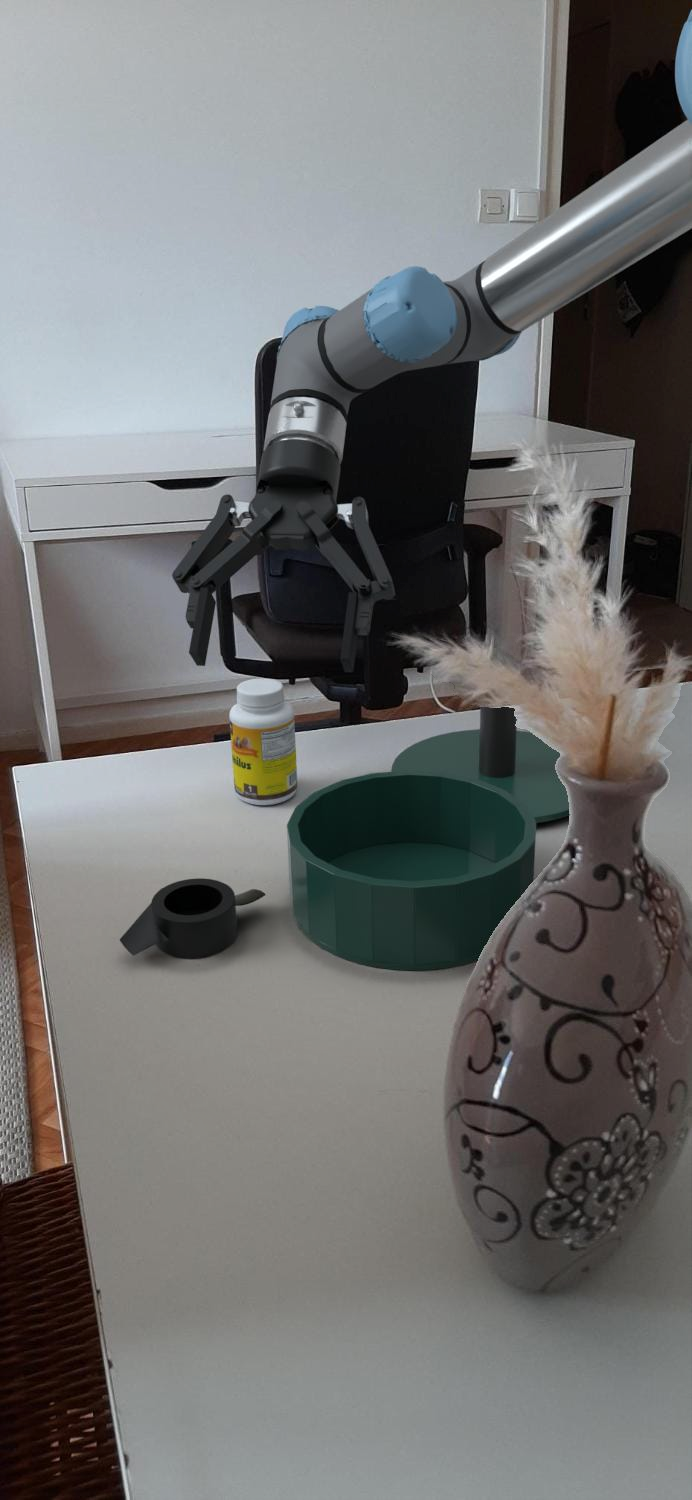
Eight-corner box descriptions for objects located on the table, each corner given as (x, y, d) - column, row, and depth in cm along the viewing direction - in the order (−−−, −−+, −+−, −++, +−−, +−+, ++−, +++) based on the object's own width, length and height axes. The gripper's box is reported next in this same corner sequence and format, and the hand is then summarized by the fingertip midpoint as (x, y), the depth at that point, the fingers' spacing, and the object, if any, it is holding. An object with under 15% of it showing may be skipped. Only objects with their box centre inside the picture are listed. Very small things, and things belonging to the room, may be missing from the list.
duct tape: (268, 961, 78) (265, 925, 77) (119, 971, 77) (114, 934, 76) (266, 901, 85) (264, 867, 84) (130, 910, 84) (126, 875, 83)
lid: (601, 745, 109) (609, 643, 105) (606, 839, 92) (615, 722, 88) (406, 735, 113) (405, 636, 108) (376, 824, 96) (374, 711, 92)
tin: (535, 851, 91) (539, 777, 88) (527, 981, 75) (531, 895, 72) (318, 836, 94) (315, 764, 91) (266, 958, 78) (261, 876, 76)
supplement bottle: (226, 787, 103) (218, 680, 99) (284, 775, 105) (279, 670, 101) (246, 813, 98) (239, 702, 94) (307, 800, 100) (302, 690, 96)
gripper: (164, 433, 107) (122, 638, 100) (430, 435, 103) (407, 649, 95) (186, 480, 114) (149, 674, 107) (436, 483, 110) (415, 686, 102)
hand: (270, 663), depth 101 cm, fingers open, 13 cm apart
